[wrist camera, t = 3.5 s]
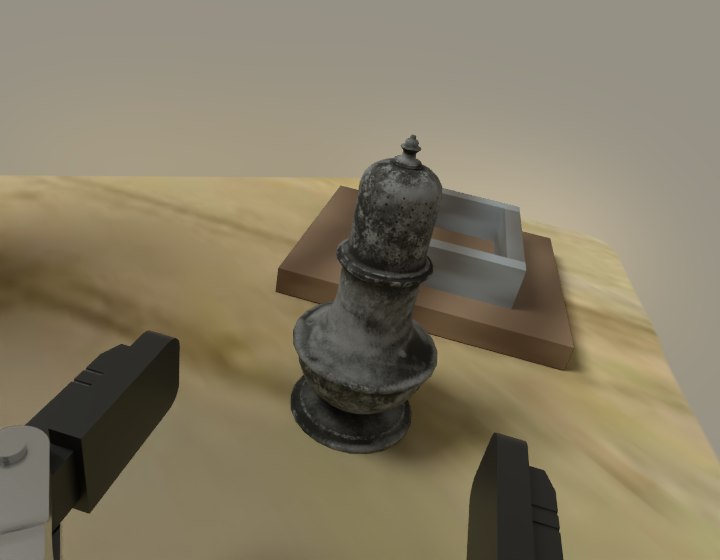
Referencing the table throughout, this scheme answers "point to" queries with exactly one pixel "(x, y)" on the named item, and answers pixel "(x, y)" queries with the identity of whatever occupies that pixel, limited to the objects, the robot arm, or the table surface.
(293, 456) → the table surface
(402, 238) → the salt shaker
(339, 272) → the socket stand
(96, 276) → the table surface
